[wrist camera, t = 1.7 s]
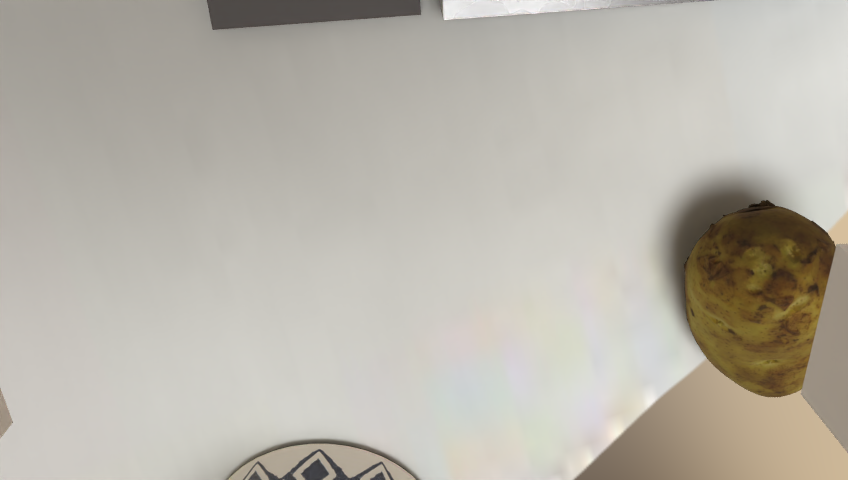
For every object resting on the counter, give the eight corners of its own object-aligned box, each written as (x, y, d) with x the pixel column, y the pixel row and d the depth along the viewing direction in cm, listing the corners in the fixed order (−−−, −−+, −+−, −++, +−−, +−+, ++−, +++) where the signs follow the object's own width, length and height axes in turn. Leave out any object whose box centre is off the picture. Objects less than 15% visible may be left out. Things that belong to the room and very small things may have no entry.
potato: (650, 370, 43) (697, 462, 36) (668, 177, 38) (728, 241, 31) (783, 362, 43) (857, 453, 36) (821, 167, 38) (918, 229, 31)
